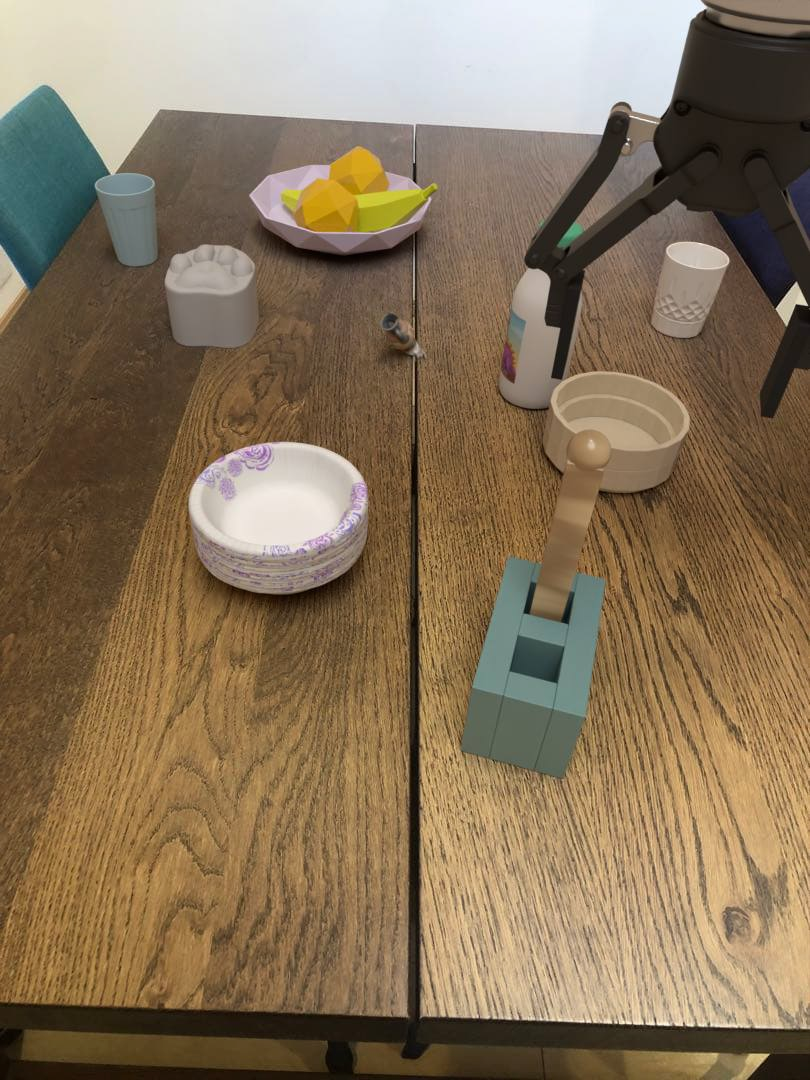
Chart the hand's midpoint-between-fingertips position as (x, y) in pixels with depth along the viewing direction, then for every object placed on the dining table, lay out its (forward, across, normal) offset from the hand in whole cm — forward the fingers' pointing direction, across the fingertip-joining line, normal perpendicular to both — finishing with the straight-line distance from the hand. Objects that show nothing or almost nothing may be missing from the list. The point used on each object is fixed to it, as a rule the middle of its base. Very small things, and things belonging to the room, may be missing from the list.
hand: (660, 387), depth 54 cm
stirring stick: (+24, -4, -6) cm, 25 cm away
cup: (+24, -70, +48) cm, 88 cm away
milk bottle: (+24, -11, +34) cm, 43 cm away
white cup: (+25, +5, +57) cm, 62 cm away
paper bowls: (+24, -28, -1) cm, 37 cm away
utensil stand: (+24, -4, -9) cm, 26 cm away
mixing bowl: (+24, -1, +25) cm, 35 cm away
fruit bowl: (+24, -45, +66) cm, 83 cm away
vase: (+24, -28, +36) cm, 51 cm away
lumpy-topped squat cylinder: (+24, -52, +36) cm, 67 cm away
